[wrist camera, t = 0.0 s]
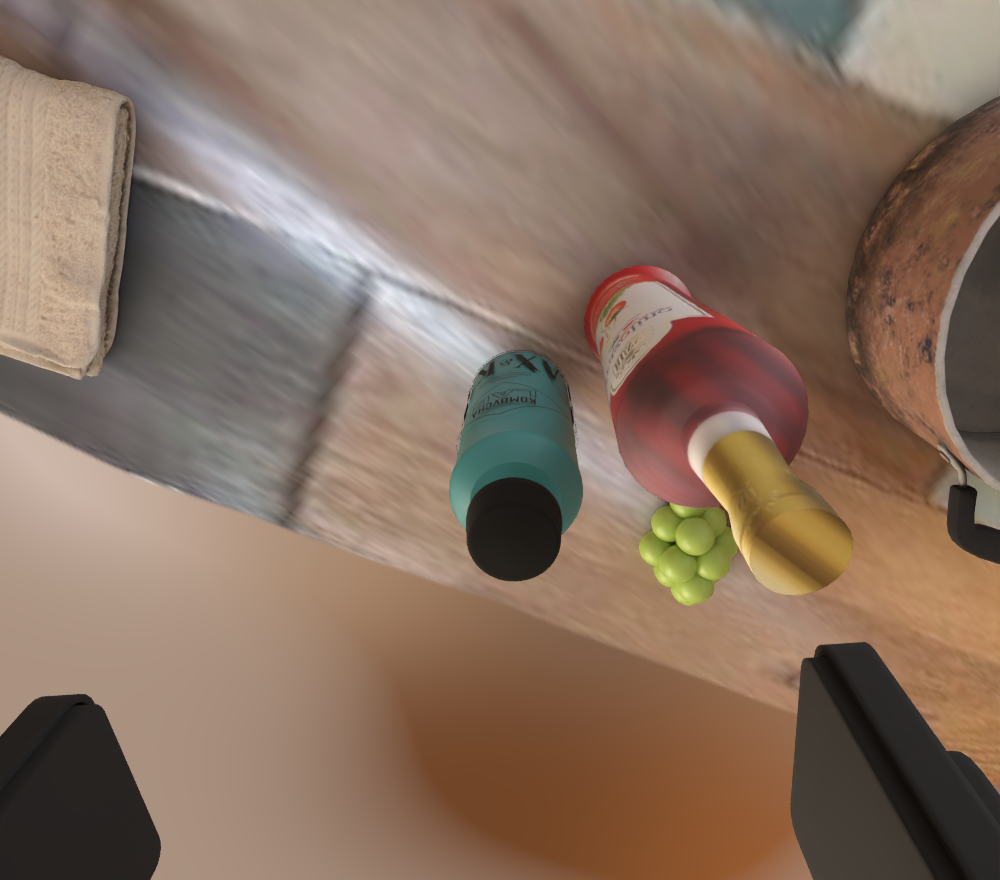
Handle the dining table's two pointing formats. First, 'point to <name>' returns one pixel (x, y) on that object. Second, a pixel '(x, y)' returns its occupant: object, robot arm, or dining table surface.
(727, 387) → the liquor
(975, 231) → the cooking pot
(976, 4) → the dining table surface
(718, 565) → the grapes
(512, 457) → the beverage bottle
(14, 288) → the washcloth
